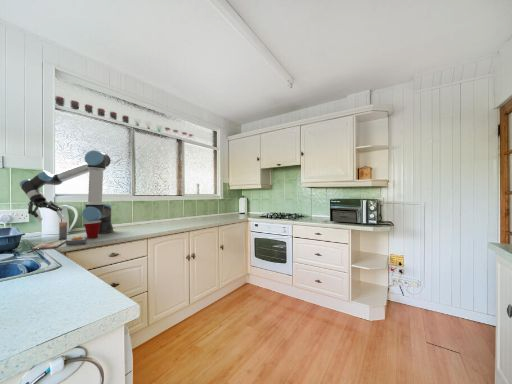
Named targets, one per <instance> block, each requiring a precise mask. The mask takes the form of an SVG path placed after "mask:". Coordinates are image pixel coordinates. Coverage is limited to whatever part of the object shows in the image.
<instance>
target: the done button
mask: <svg viewBox="0 0 512 384" xmlns="http://www.w3.org/2000/svg"><path fill="white" fill-rule="evenodd" d="M82 237H83V236H82V235H81V236H77V235H76V236H72V238H73V240H77V239H82Z"/></svg>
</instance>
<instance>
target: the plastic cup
mask: <svg viewBox="0 0 512 384" xmlns="http://www.w3.org/2000/svg"><path fill="white" fill-rule="evenodd" d="M82 224H83V225H84V229H85V234H86V237H88V240H89V239H90V240H91V239H92V238H93V239H97V238H98V236H99V234H100V233H99V228H100V224H101V221H90V222H88V221H86V222H82ZM98 233H99V234H98Z"/></svg>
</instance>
